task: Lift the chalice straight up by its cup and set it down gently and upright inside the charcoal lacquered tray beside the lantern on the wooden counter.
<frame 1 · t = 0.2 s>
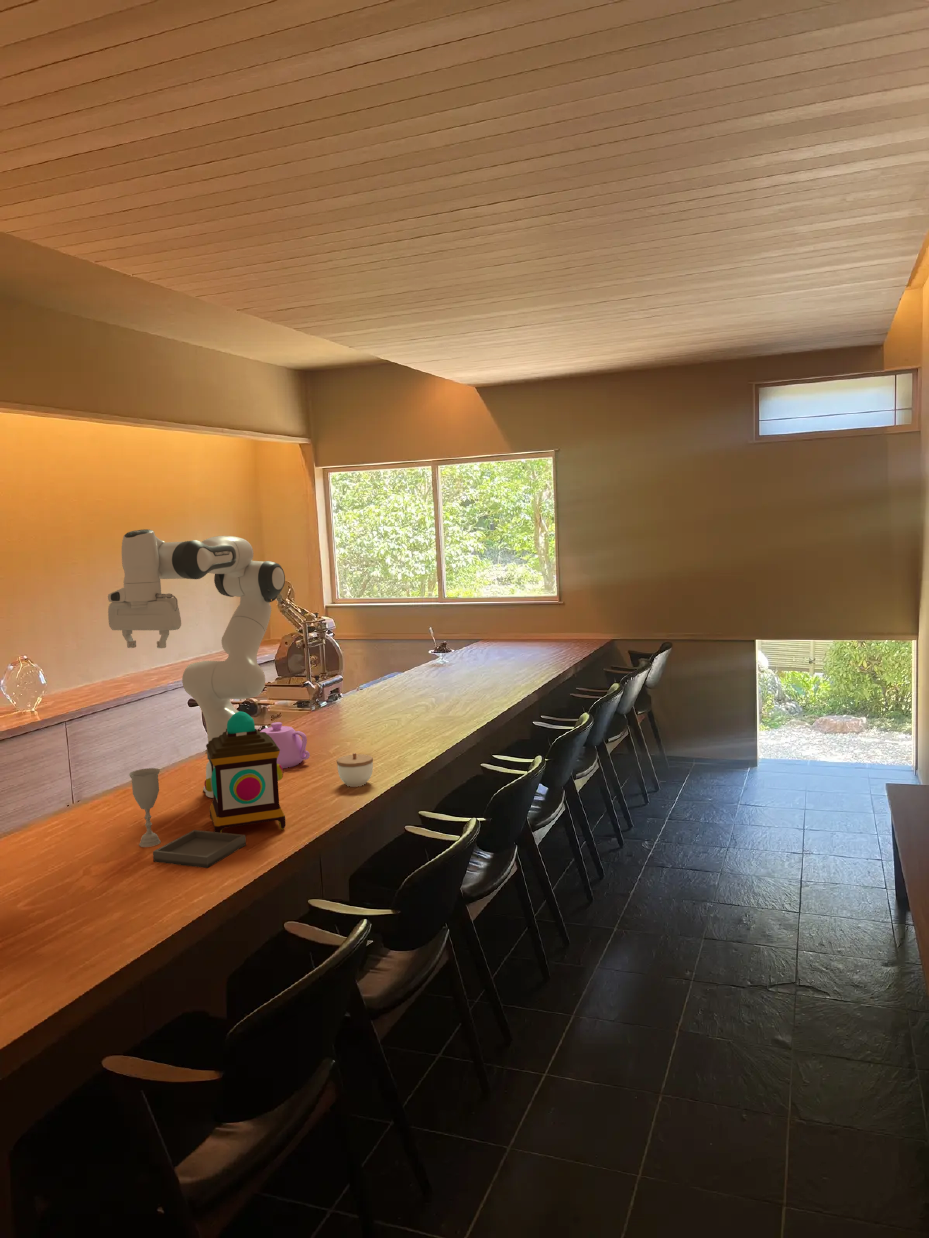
hand: (146, 647, 220), 47 cm above the table, tool pointing down, fingers open, 8 cm apart
teapot: (276, 763, 285), on the table
lidded jar: (356, 784, 257), on the table
chalice: (150, 844, 212), on the table
decorative lantern: (247, 825, 224), on the table
tray: (200, 853, 204), on the table
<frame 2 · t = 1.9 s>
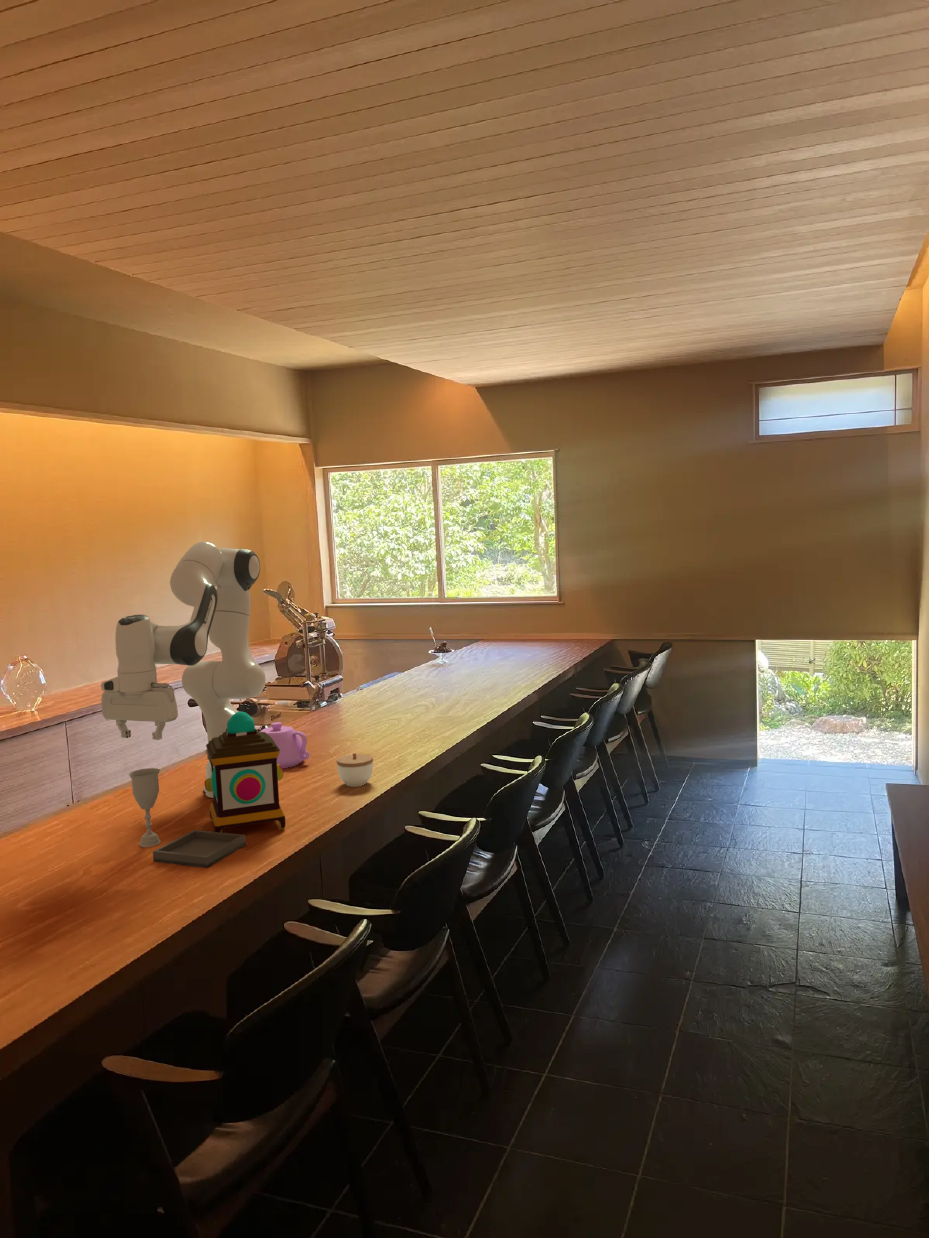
hand: (141, 738, 210), 26 cm above the table, tool pointing down, fingers open, 8 cm apart
nothing on the table moved.
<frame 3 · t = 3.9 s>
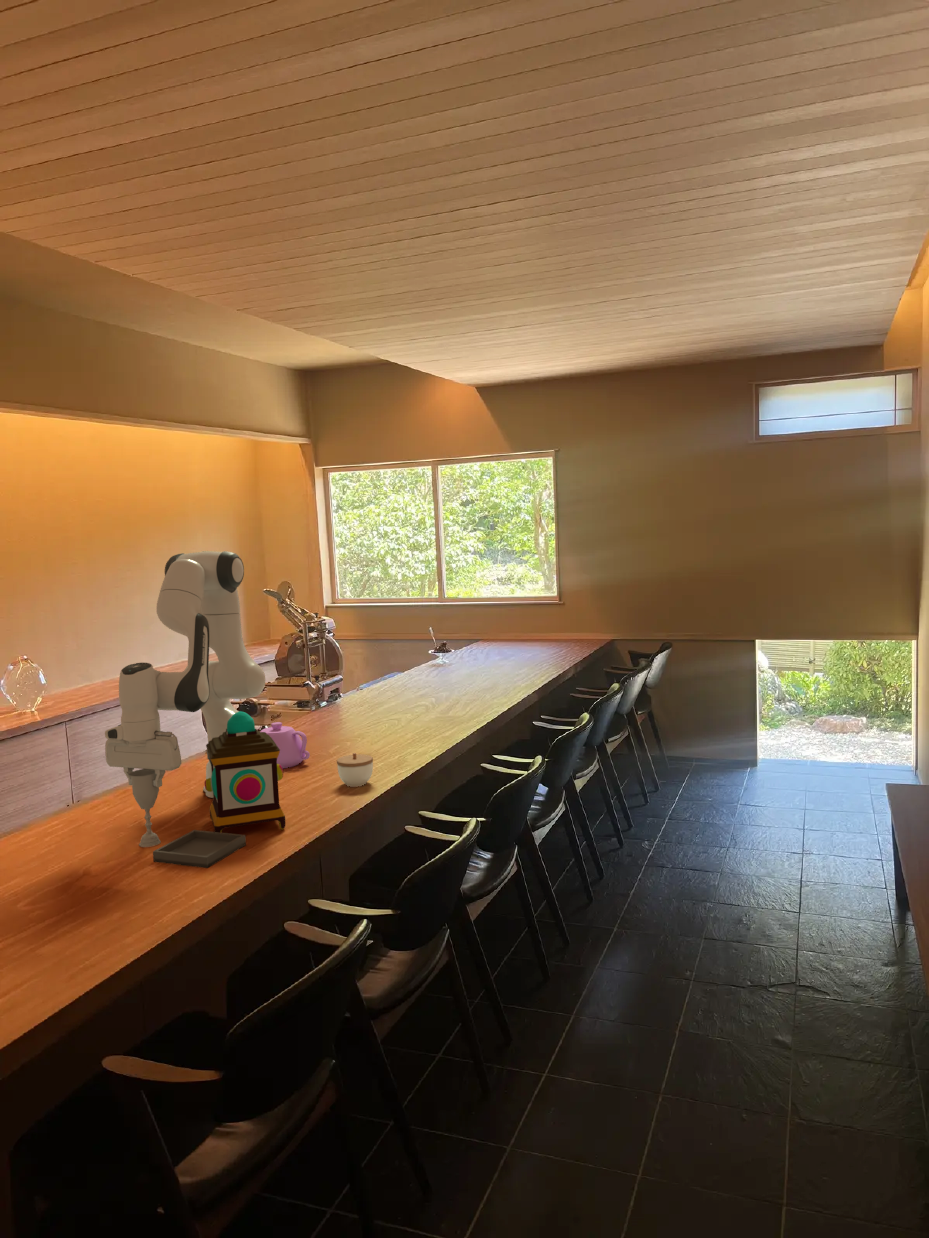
hand: (145, 785, 211), 15 cm above the table, tool pointing down, fingers closed on chalice, 6 cm apart
chalice: (150, 844, 212), on the table, touching gripper
everything else where it was.
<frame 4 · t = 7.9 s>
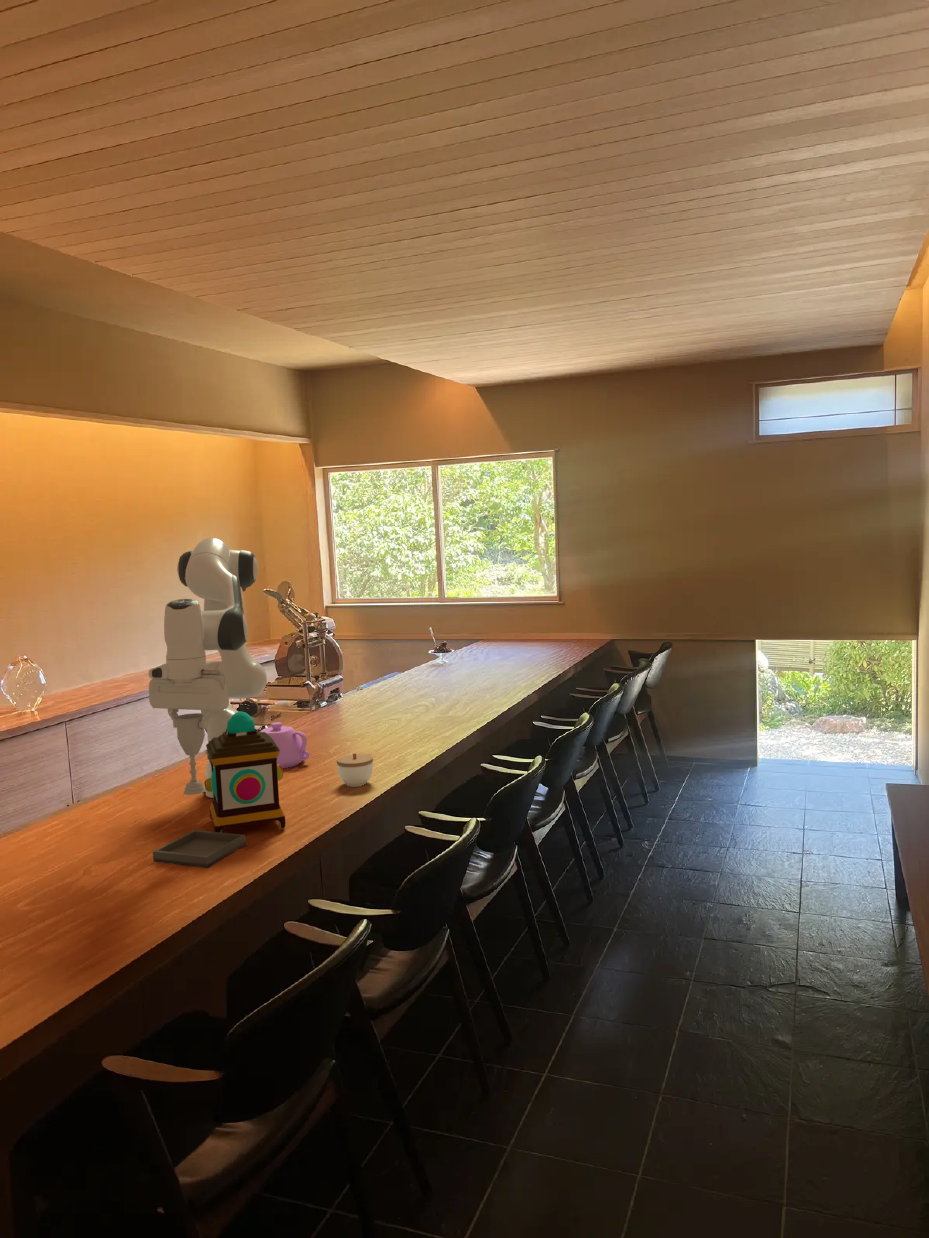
hand: (190, 727, 201), 30 cm above the table, tool pointing down, fingers closed on chalice, 6 cm apart
chalice: (194, 792, 203), point 15 cm above the table, touching gripper
everything else where it was.
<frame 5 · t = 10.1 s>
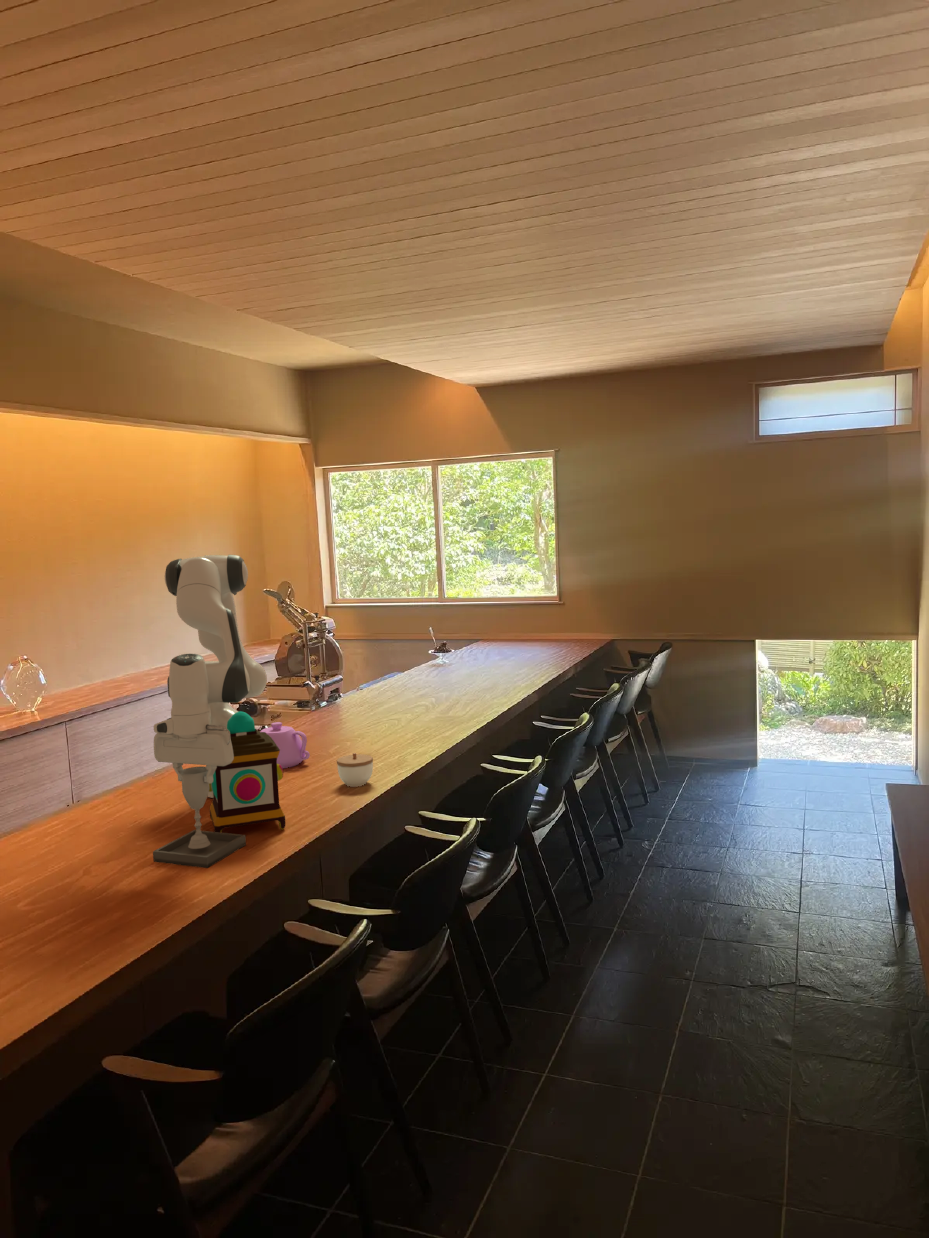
hand: (195, 781, 203), 17 cm above the table, tool pointing down, fingers closed on chalice, 6 cm apart
chalice: (199, 845, 204), point 2 cm above the table, touching gripper
everything else where it was.
when the fingers open (16 cm above the table, at t = 11.8 s): chalice stays where it is, resting on tray.
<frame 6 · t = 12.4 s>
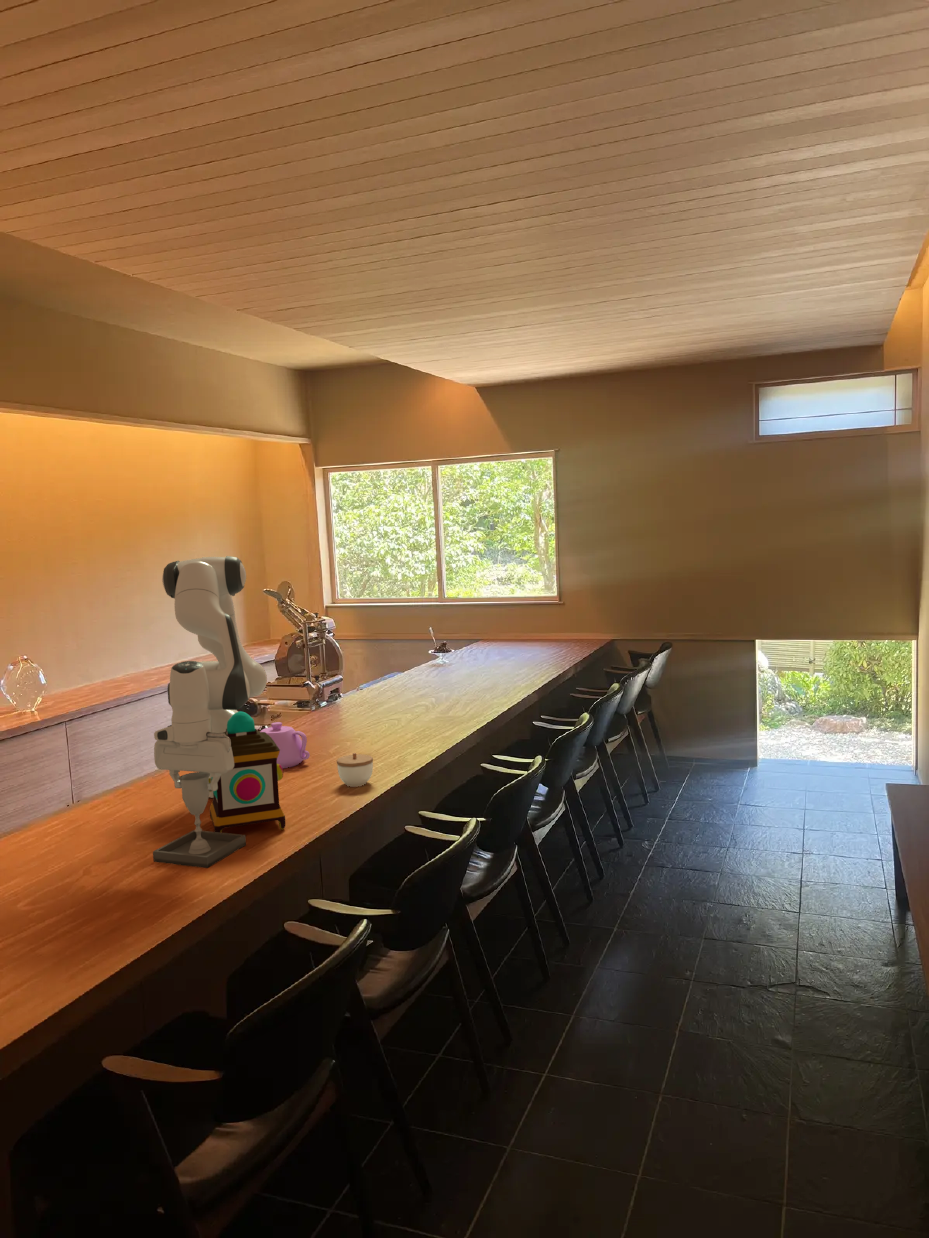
hand: (196, 789, 203), 16 cm above the table, tool pointing down, fingers open, 8 cm apart
chalice: (199, 850, 204), point 1 cm above the table, touching tray
everything else where it was.
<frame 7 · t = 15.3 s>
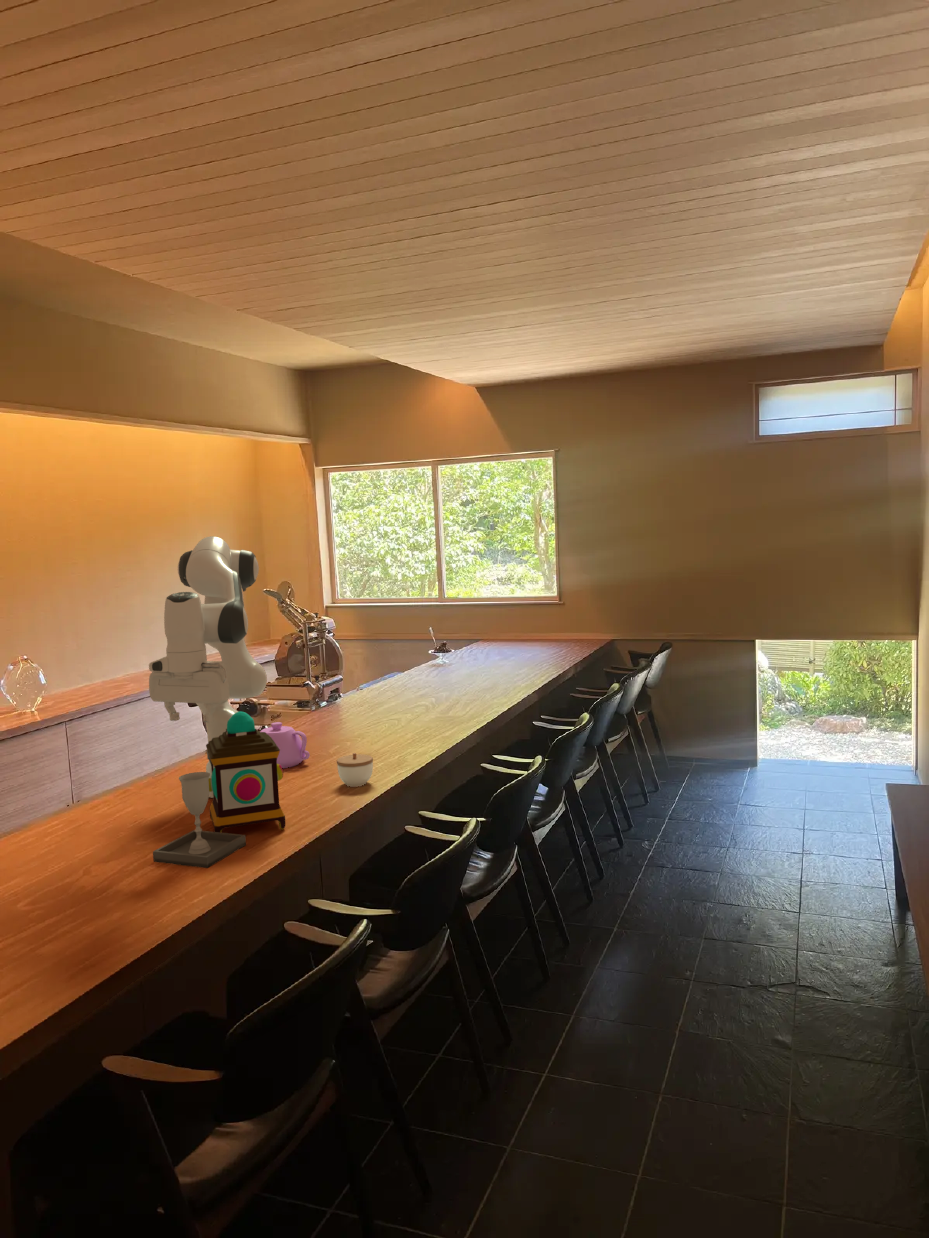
hand: (191, 721, 201), 32 cm above the table, tool pointing down, fingers open, 8 cm apart
nothing on the table moved.
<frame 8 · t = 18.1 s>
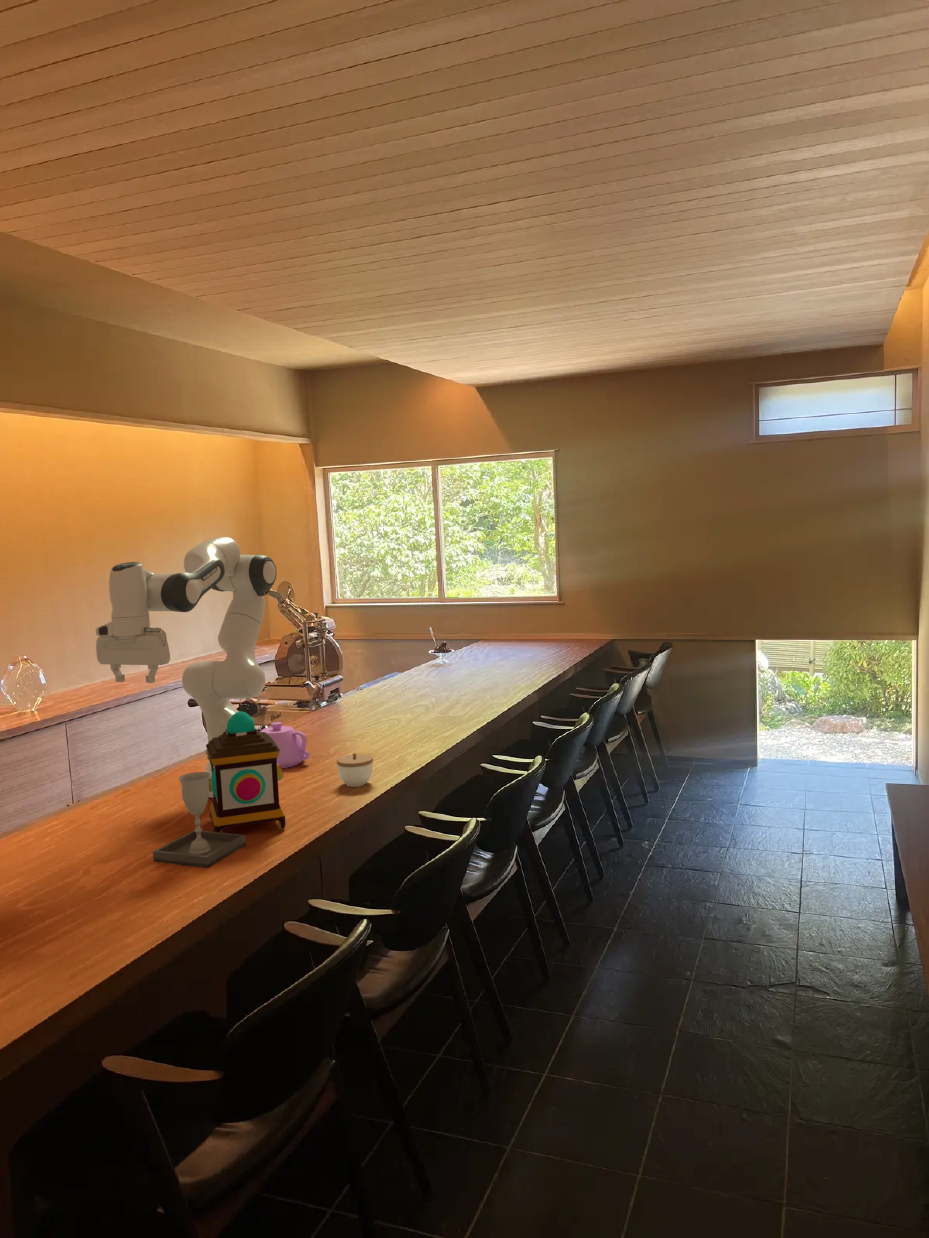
hand: (135, 682, 216), 39 cm above the table, tool pointing down, fingers open, 8 cm apart
nothing on the table moved.
at the end: chalice inside the target area on the tray (0.2 cm from its centre), point 0.6 cm above the tray's base; chalice tilted 0°; the gripper is holding nothing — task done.
